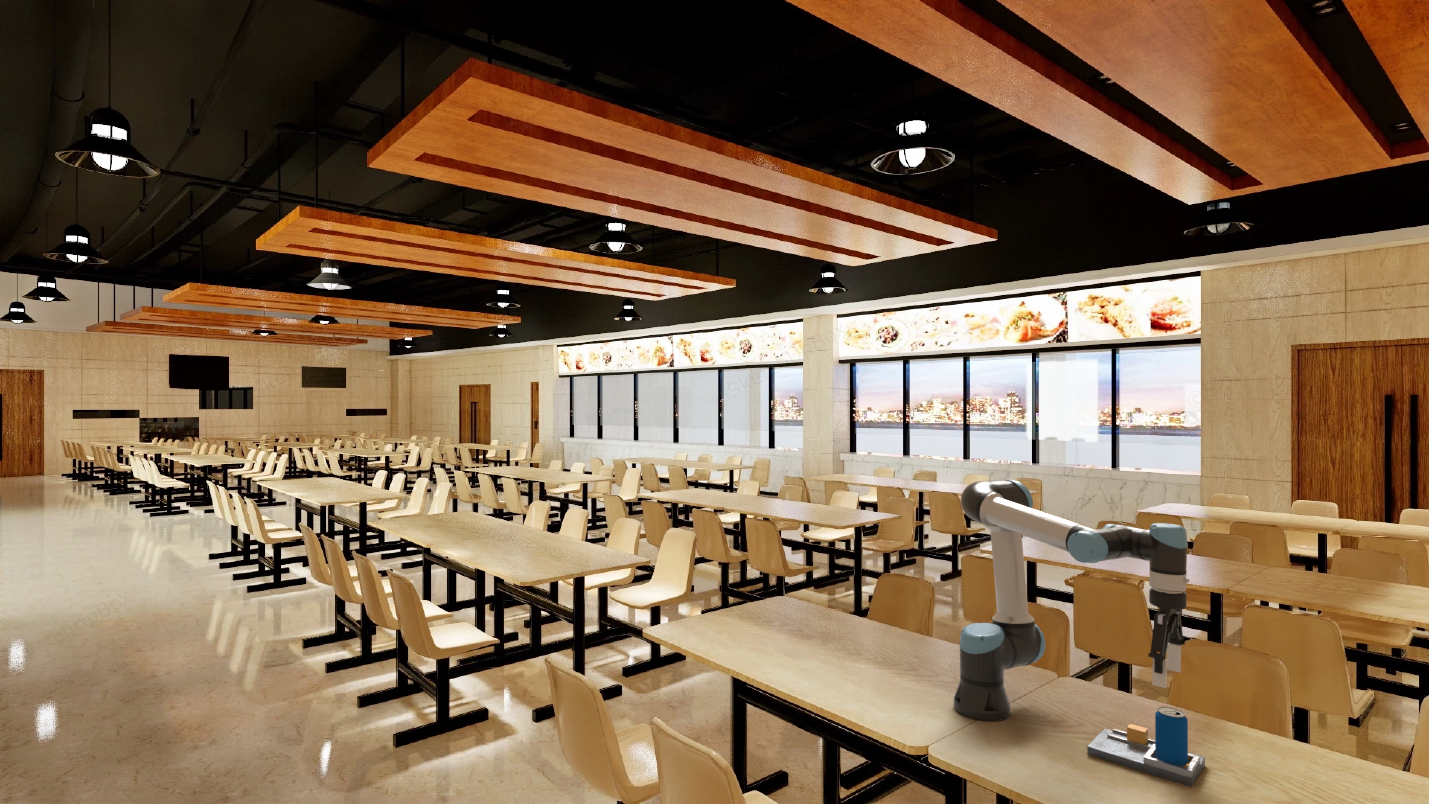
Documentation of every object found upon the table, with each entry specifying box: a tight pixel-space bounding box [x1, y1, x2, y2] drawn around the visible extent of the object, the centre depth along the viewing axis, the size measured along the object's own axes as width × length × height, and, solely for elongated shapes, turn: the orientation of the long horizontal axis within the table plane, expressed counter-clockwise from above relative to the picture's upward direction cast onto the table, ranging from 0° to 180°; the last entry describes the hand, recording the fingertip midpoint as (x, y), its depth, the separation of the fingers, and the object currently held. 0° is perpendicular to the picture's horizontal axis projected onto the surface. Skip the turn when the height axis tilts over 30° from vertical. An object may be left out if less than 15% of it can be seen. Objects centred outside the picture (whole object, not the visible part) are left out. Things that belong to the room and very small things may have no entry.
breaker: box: [1126, 723, 1149, 745], centre depth 180 cm, size 4×3×3 cm
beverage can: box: [1154, 706, 1189, 767], centre depth 169 cm, size 6×6×12 cm
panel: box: [1086, 728, 1206, 788], centre depth 175 cm, size 22×14×4 cm, turn 46°
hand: (1166, 678), depth 171 cm, fingers open, 13 cm apart
